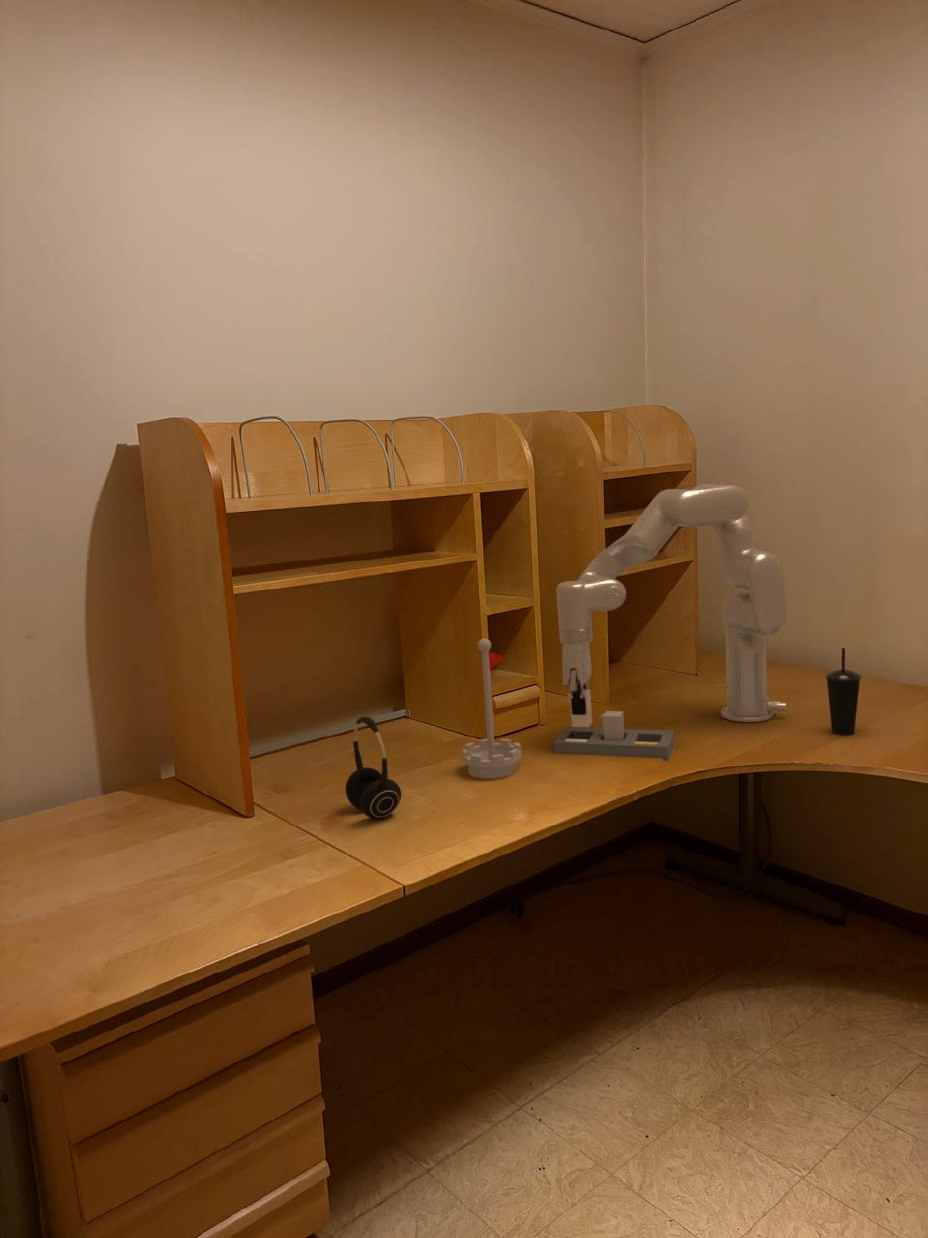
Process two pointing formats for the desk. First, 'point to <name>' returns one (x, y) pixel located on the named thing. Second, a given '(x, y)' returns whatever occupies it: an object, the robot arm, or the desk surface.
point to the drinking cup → (843, 698)
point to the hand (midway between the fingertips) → (581, 710)
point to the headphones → (372, 782)
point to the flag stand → (490, 733)
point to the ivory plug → (582, 719)
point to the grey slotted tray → (615, 739)
